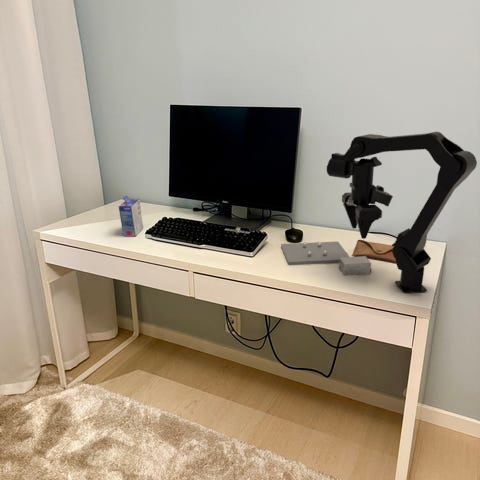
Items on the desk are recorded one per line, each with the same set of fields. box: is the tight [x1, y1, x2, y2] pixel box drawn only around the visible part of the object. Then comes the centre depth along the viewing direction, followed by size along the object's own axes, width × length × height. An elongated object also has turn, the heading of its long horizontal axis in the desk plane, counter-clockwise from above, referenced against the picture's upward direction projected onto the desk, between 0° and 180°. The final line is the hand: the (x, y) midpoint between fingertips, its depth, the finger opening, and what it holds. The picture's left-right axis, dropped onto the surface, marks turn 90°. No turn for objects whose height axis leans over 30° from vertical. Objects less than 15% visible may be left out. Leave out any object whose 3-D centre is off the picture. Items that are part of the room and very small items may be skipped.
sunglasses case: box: [350, 239, 397, 265], centre depth 142 cm, size 18×7×7 cm, turn 61°
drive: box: [338, 256, 373, 277], centre depth 131 cm, size 5×8×4 cm, turn 93°
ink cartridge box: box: [118, 194, 144, 237], centre depth 168 cm, size 10×6×14 cm, turn 174°
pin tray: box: [280, 241, 350, 266], centre depth 145 cm, size 16×20×2 cm
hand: (358, 233), depth 128 cm, fingers open, 9 cm apart
